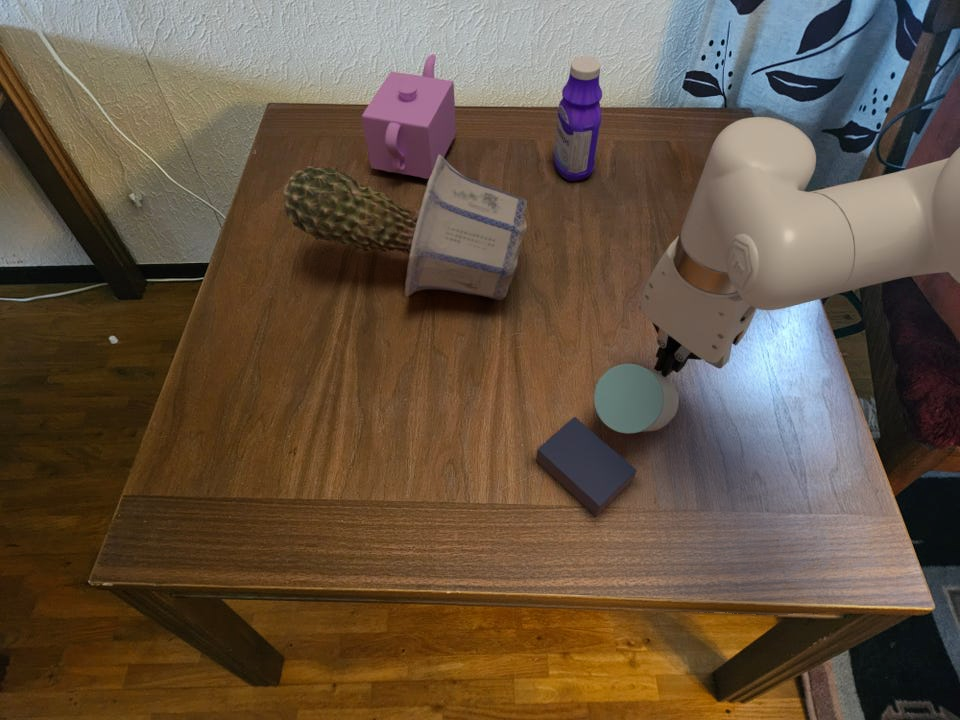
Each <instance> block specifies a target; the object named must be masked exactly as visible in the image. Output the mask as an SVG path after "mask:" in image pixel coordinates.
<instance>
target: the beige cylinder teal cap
mask: <svg viewBox="0 0 960 720" xmlns="http://www.w3.org/2000/svg"><path fill="white" fill-rule="evenodd" d="M661 374H662V373H661V372H659V371H658V372H657V371H656V370H654V369H653V370H652V369H649V368H647V367H645V366H642V365H639V364H636V363H621V364H617V365H615V366H613V367H610V368H609V369H608V370H607V371H606V372H604V374H602V375H601V377H600V378H599V380H598V381H597V384H596V386H595V389H594V393H593V394H594V395H593V402H594V408H595V411H596V413H597V416H598V417H599V420H601V422H602V423H603V424H604V425H605V426H607V428H609V429H611V430H613V431H615V432H617V433H619V434H620V433H621V434H629V435H630V434H638V433H641V432H654V431H658V430H661V429H663V428H664V427H666V426H667V425H669V424H670V423H671V422H672V421H673V419H674V418H675V416H676V414H677V413H678V408H679V403H680V402H679V401H680V399H679V393H678V389H677V388H676V386H675V384H674V383H673V382H672V380H671V379H670V378H669V377H668V376H667V377H664V376H663V375H661Z"/></svg>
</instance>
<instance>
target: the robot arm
mask: <svg viewBox="0 0 960 720" xmlns="http://www.w3.org/2000/svg"><path fill="white" fill-rule="evenodd" d="M816 163H817V153H816V149H815V146H814V145H813V142H812V141H811V140H810V138H809V137H808V136H807V135H806V134H805V133H804V132H803V131H802V130H801V129H799V128H798V127H796V126H795V125H793V124H791V123H789V122H787V121H784V120H781V119H778V118H774V117H768V116H753V117H746V118H741V119H739V120H736V121H734V122H732V123H730V124H729V125H727V126H726V127H724V129H722V130H721V131H720V133H718V135H716V138H715V140H714V141H713V143H712V145H711V147H710V150H709V152H708V156H707V158H706V161H705V164H704V167H703V169H702V172H701V174H700V178H699V181H698V183H697V186H696V187H695V188H696V189H695V191H694V194H693V196H692V199H691V202H690V205H689V208H688V210H687V213H686V216H685V219H684V222H683V224H682V226H681V229H680V232H679V235H678V236H677V237H676V238H675V239H673V241H672V242H671V243H670V244H669V246H668V247H667V248H666V250H665V251H664V253H662V256H661V257H660V258H659V260H658V262H657V263H656V265H655V267H654V269H653V271H652V272H651V274H650V275H649V278H648V280H647V282H646V284H645V286H644V289H643V291H642V294H641V297H640V301H639V310H640V311H641V312H642V314H643V315H644V316H645V317H646V318H647V319H648V320H649V321H650V322H651V324H652V325H653V329H654V330H655V332H656V334H657V336H656V343H657V345H658V348H657V351H656V354H655V358H657V360H656V362H655V364H654V367H653V370H654V371H657V372H659V373H662V374H661V375H663V376H664V377H668V376H669V375H670V374H671V373H672V372H675V373H676V374H678V373H679V372H680V371H682V369H684V367H685V366H686V365H687V363H688V360H696V361H697V360H699V361H701V360H703V361H704V362H706V363H707V364H708V365H711V366H713V367H714V368H716V369H720V370H721V369H723V368H724V367H725V365H727V364H728V363H729V362H730V358H731V353H732V347H733V345H734V346H738V344H739V343H740V342H741V341H742V339H743V338H744V336H745V335H746V333H747V331H748V330H749V328H750V325H751V323H752V322H753V318H754V316H755V314H756V311H757V310H762V311H776V310H782V309H787V308H791V307H795V306H799V305H802V304H807V303H810V302H814V301H818V300H821V299H824V298H825V299H826V298H829V297H832V296H834V295H839V294H842V293H846V292H850V291H855V290H858V289H862V288H867V287H870V286H874V285H877V284H882V283H886V282H891V281H896V280H900V279H903V278H908V277H917V276H923V275H924V276H925V275H932V274H933V275H934V274H943V273H949V274H950V276H951V277H952V278H953V280H955V281H956V283H958V284H959V285H960V146H959V147H958V148H956V150H955V151H954V152H953V153H952V154H951V155H950V157H947V158H944V159H940V160H937V161H934V162H933V161H932V162H929V163H926V164H922V165H918V166H915V167H911V168H908V169H903V170H899V171H895V172H892V173H887V174H883V175H882V174H881V175H878V176H875V177H870V178H867V179H866V178H865V179H860V180H855V181H850V182H846V183H841V184H837V185H833V186H829V187H824V188H820V189H816V190H812V191H806V189H807V187H808V186H809V183H810V181H811V179H812V177H813V175H814V173H815V169H816Z"/></svg>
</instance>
